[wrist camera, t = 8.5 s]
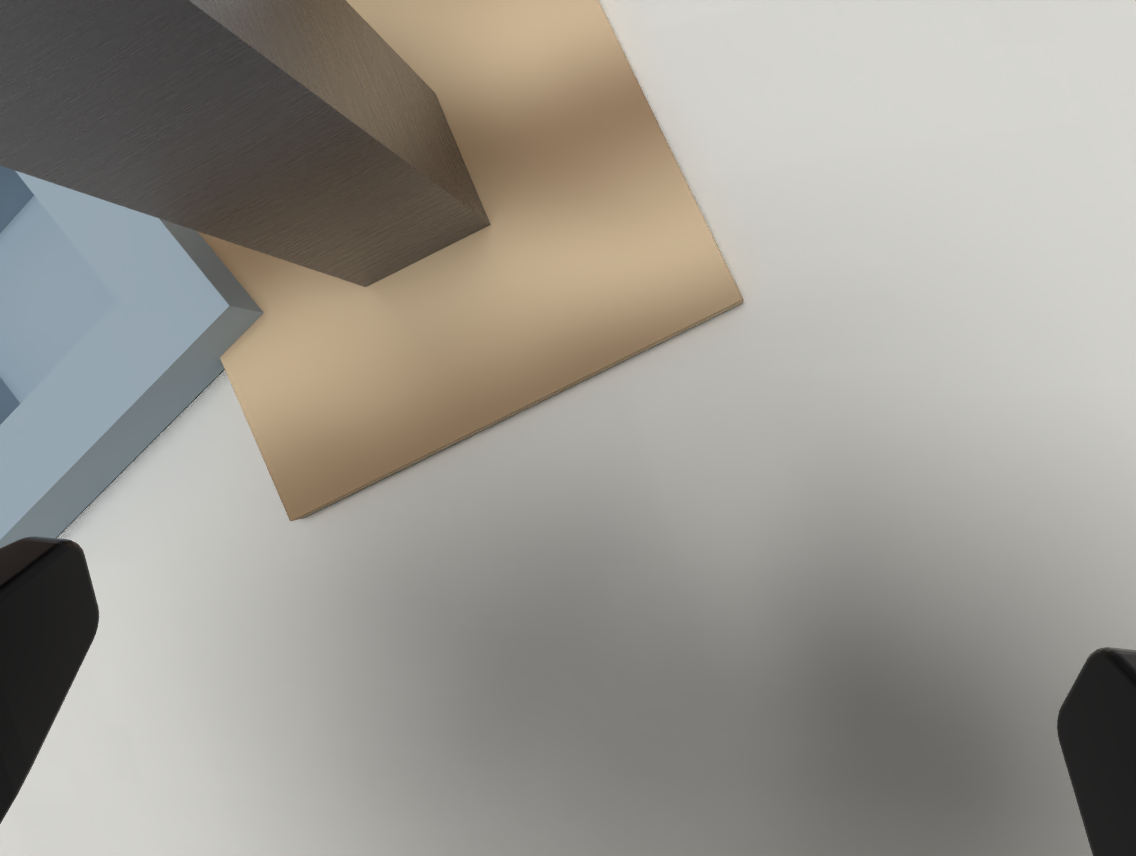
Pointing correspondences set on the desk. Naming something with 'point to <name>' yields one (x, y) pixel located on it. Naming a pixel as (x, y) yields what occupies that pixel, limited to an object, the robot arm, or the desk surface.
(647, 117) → the tan metal pad
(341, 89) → the grey hook block
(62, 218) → the square socket block
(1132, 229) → the desk surface
